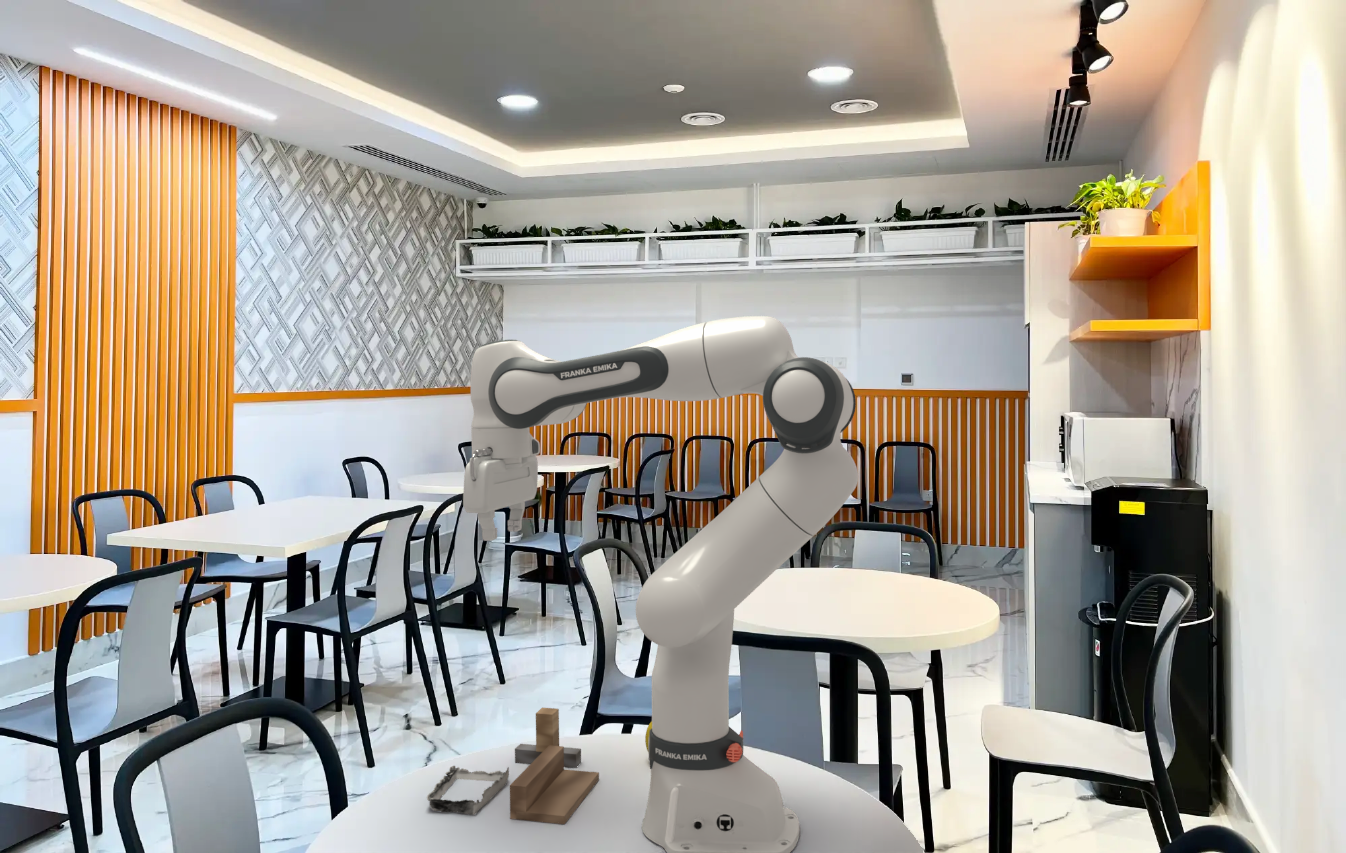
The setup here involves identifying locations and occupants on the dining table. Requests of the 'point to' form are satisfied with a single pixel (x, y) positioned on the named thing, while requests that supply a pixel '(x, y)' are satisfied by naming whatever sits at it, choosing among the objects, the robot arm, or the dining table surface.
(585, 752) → the dining table surface
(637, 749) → the dining table surface
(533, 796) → the stop bar
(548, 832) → the dining table surface
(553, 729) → the oak pusher
